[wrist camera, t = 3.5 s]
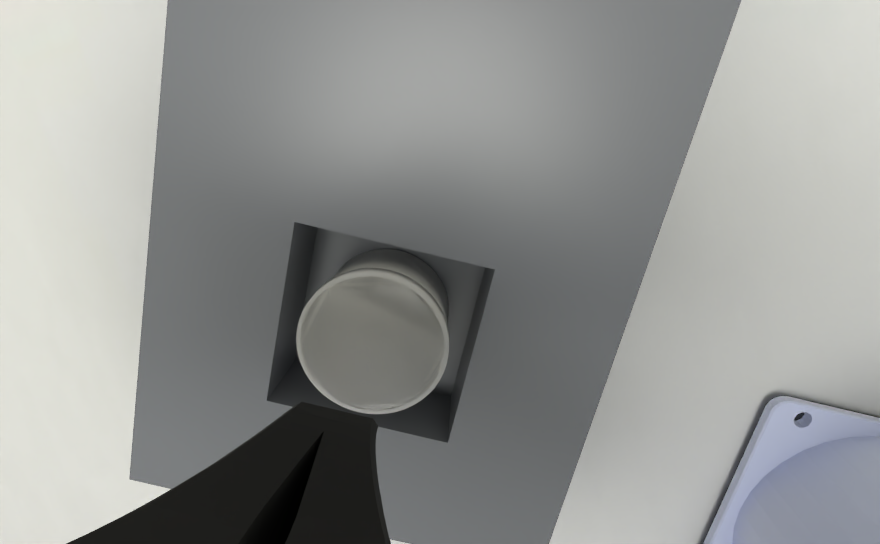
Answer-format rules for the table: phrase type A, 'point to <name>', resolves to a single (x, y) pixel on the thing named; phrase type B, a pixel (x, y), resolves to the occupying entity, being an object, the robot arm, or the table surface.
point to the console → (414, 225)
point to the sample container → (376, 333)
